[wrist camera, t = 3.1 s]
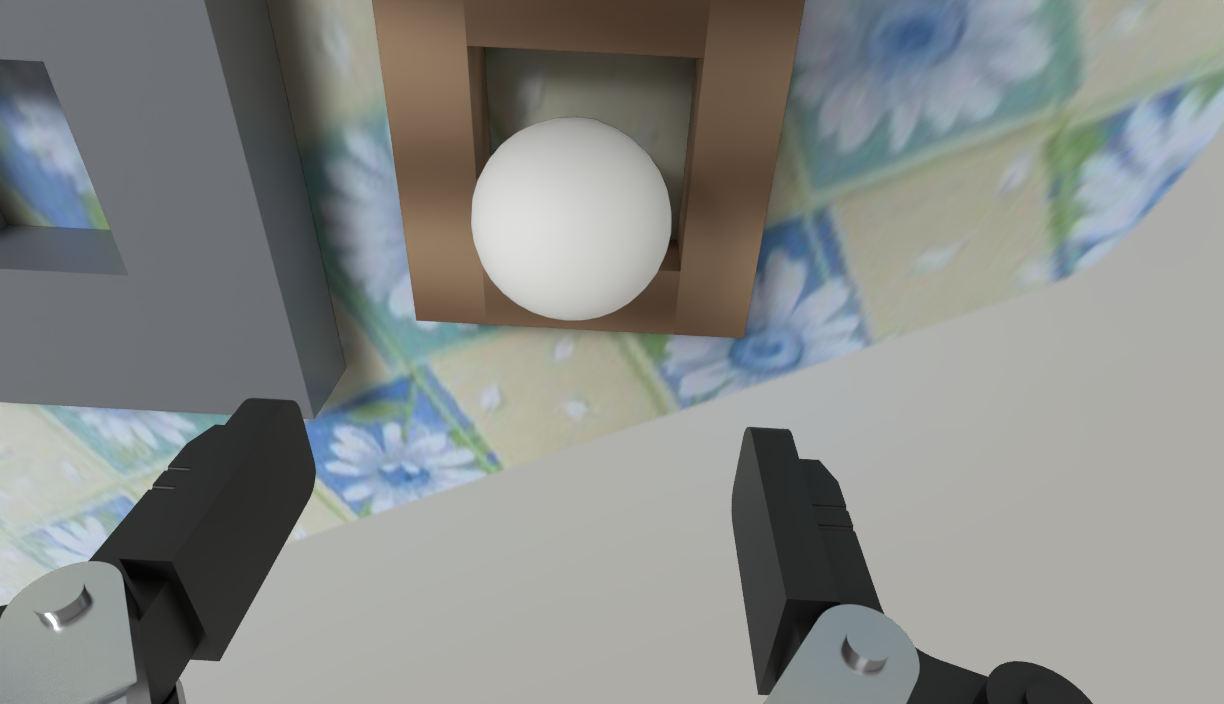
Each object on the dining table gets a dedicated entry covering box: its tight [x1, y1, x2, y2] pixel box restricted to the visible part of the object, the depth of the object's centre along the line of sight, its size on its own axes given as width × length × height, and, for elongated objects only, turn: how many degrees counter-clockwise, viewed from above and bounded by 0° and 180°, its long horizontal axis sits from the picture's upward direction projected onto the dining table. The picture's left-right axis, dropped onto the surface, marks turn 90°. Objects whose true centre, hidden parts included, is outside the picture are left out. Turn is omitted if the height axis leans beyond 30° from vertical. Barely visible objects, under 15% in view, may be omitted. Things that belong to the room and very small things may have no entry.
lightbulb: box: [471, 117, 671, 320], centre depth 23 cm, size 6×6×11 cm
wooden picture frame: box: [372, 0, 805, 338], centre depth 26 cm, size 14×14×3 cm
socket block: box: [0, 0, 346, 419], centre depth 26 cm, size 22×20×5 cm
